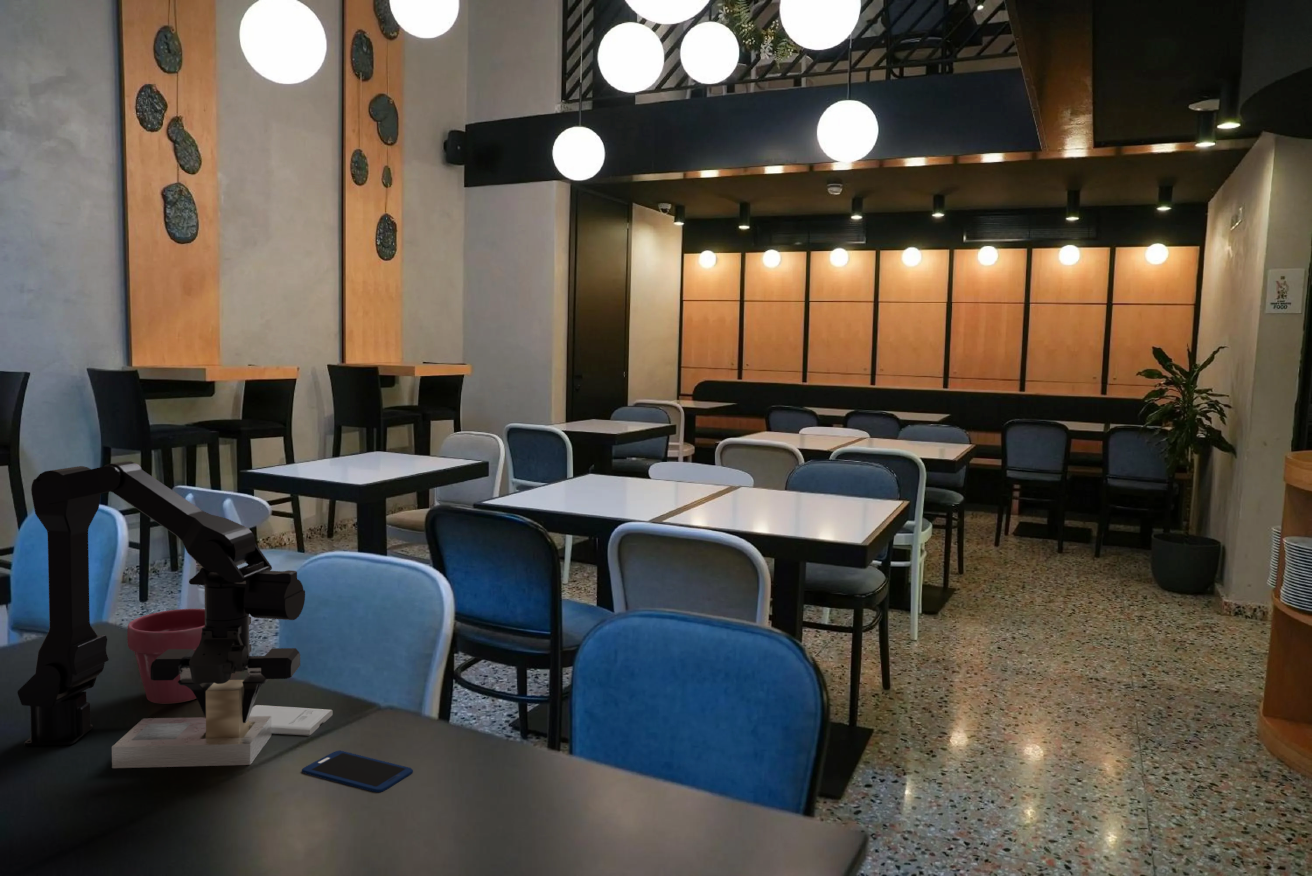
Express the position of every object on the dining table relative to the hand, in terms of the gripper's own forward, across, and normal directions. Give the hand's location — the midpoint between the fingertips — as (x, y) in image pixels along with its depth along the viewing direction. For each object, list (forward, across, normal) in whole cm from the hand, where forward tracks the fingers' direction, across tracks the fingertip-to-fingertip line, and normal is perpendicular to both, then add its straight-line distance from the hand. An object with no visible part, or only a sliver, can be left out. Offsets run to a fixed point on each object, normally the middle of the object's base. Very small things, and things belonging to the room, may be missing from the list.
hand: (227, 722), depth 131 cm
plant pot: (+4, -15, +23) cm, 28 cm away
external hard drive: (+5, +5, +10) cm, 12 cm away
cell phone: (+5, +20, -8) cm, 22 cm away
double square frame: (+4, -4, 0) cm, 6 cm away
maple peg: (+3, 0, 0) cm, 3 cm away
